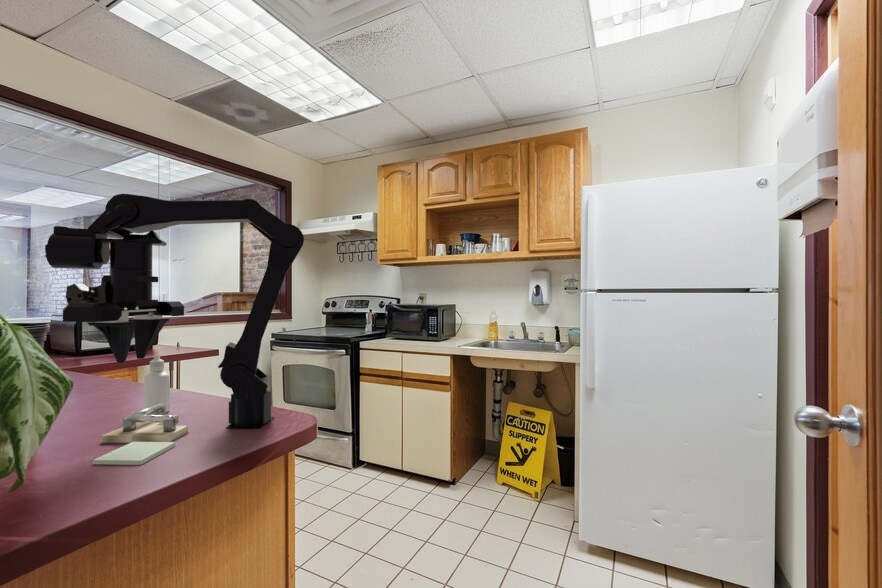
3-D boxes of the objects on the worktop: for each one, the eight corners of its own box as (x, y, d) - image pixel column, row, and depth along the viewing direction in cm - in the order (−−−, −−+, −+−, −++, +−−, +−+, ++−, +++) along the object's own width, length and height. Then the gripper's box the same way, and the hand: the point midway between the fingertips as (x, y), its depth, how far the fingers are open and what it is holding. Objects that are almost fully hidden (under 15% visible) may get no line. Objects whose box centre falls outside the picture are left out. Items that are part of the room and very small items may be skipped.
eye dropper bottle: (169, 406, 85) (169, 351, 85) (170, 413, 80) (170, 355, 80) (143, 410, 82) (144, 353, 82) (143, 417, 78) (143, 357, 78)
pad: (175, 445, 63) (175, 442, 63) (141, 464, 56) (141, 460, 56) (132, 445, 63) (132, 441, 63) (93, 464, 56) (93, 460, 56)
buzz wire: (209, 421, 75) (209, 401, 75) (167, 443, 64) (167, 420, 64) (152, 420, 75) (152, 401, 75) (102, 442, 64) (102, 419, 64)
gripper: (131, 273, 77) (130, 352, 77) (27, 266, 58) (26, 370, 58) (186, 273, 76) (185, 352, 76) (99, 266, 58) (99, 371, 58)
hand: (131, 360), depth 67 cm, fingers open, 4 cm apart
